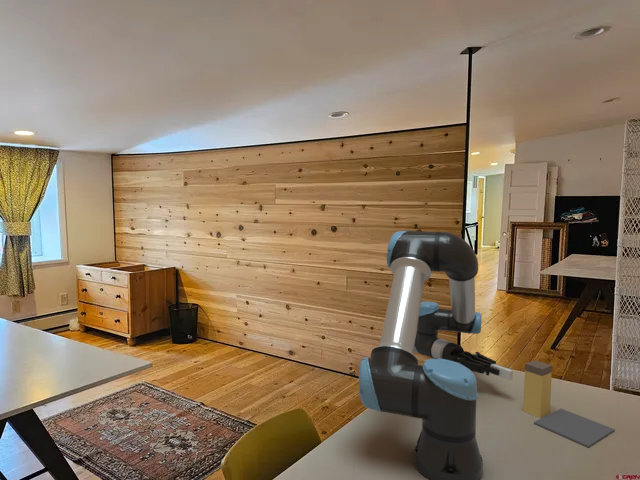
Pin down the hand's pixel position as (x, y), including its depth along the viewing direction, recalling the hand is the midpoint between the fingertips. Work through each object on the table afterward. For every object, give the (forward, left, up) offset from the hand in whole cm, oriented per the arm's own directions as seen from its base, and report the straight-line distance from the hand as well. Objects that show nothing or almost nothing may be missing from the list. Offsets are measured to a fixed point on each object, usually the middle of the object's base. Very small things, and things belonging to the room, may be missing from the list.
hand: (511, 375), depth 129 cm
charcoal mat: (0, -19, -8) cm, 20 cm away
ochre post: (0, -8, -8) cm, 12 cm away
